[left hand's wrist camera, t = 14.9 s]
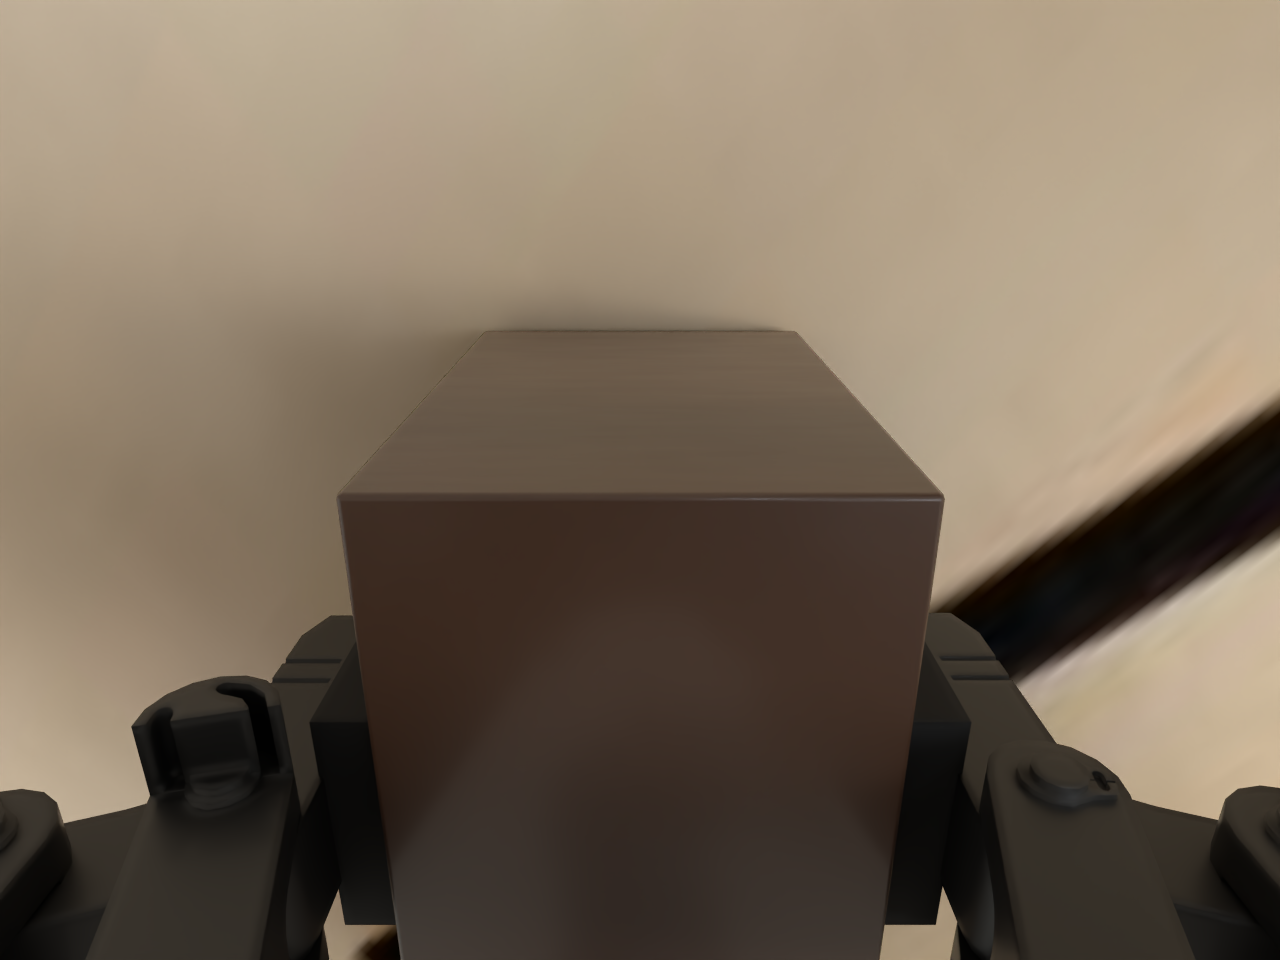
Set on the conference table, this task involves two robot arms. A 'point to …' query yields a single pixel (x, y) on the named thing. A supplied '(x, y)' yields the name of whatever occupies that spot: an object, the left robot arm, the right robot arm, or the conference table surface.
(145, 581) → the conference table surface
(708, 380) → the plank
